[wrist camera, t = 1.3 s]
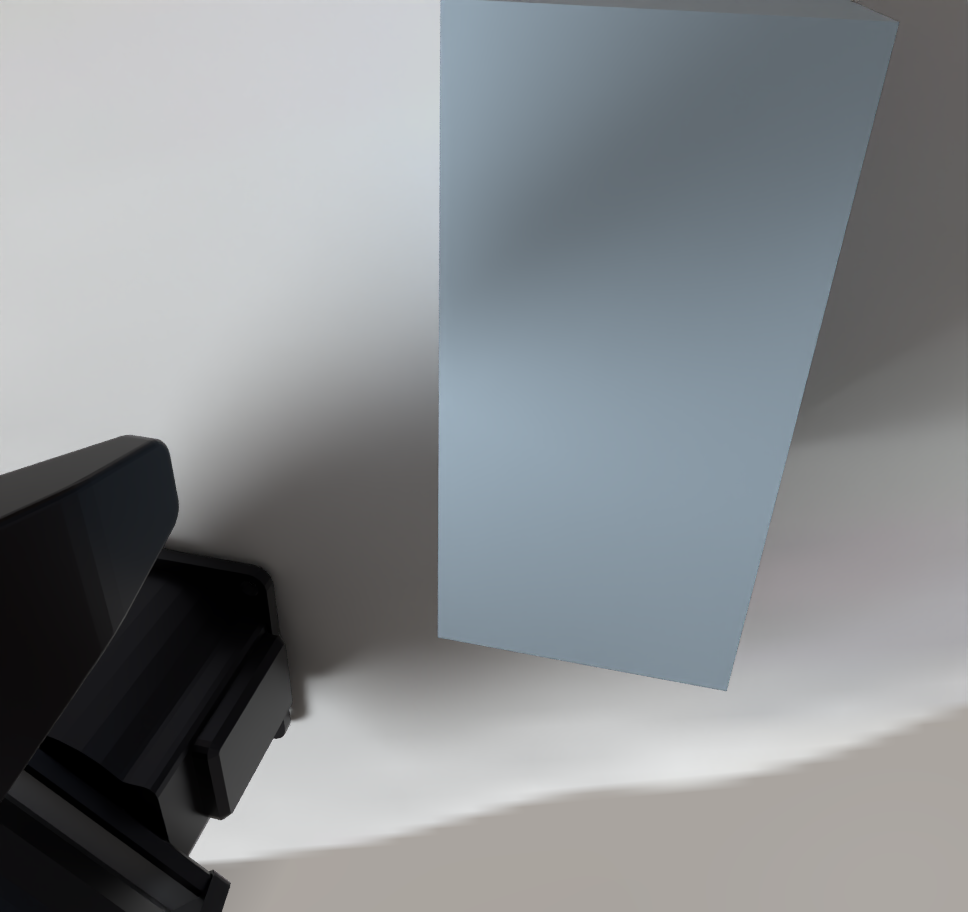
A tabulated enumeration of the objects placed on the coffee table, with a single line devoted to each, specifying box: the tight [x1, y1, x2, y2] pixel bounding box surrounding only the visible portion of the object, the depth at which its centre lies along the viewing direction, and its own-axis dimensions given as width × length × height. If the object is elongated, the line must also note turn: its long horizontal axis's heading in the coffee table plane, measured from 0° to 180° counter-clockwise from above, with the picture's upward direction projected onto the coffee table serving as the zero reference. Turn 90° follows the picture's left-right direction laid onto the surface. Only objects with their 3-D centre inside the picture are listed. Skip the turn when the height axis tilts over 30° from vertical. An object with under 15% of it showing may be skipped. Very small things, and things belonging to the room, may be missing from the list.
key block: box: [438, 0, 899, 691], centre depth 14 cm, size 4×9×7 cm, turn 178°
